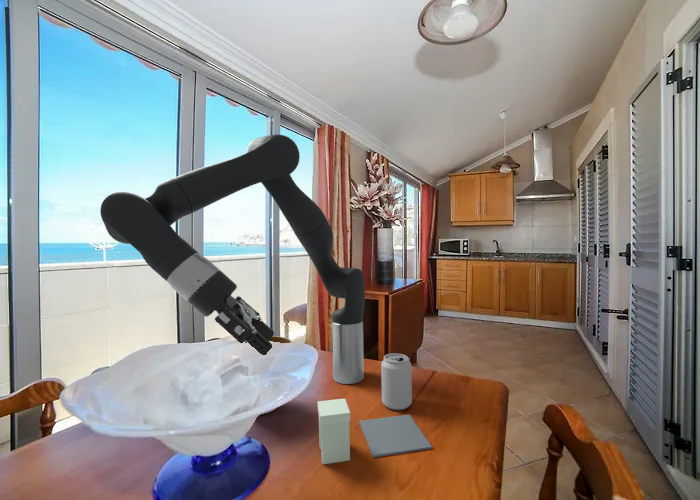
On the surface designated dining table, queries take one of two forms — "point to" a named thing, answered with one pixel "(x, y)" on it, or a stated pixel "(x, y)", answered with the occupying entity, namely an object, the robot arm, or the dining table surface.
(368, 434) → the mat
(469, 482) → the dining table surface
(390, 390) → the can
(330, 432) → the pale green upright block
